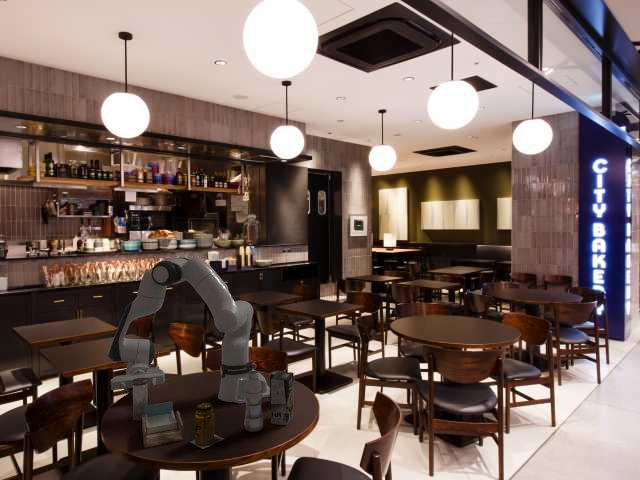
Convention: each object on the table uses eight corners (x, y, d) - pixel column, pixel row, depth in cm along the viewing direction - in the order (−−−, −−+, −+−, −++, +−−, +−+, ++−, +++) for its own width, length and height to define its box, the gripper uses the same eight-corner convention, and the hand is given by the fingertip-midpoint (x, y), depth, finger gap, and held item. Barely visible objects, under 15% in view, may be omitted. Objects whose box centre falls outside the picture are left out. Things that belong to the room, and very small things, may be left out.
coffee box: (287, 425, 154) (287, 380, 154) (270, 424, 155) (270, 379, 155) (294, 414, 163) (294, 372, 163) (277, 413, 164) (277, 371, 164)
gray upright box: (283, 406, 171) (283, 375, 171) (266, 404, 173) (266, 374, 173) (289, 399, 178) (289, 370, 177) (273, 398, 180) (273, 369, 179)
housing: (178, 424, 155) (178, 410, 155) (183, 440, 143) (183, 424, 143) (142, 431, 150) (142, 416, 150) (144, 447, 138) (144, 432, 138)
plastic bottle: (255, 436, 146) (254, 376, 145) (240, 431, 149) (239, 373, 149) (267, 428, 151) (267, 371, 151) (252, 424, 155) (252, 368, 155)
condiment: (189, 442, 142) (189, 405, 142) (211, 433, 148) (211, 398, 148) (202, 449, 137) (202, 411, 137) (224, 439, 144) (224, 403, 143)
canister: (147, 413, 164) (147, 376, 164) (148, 418, 160) (148, 380, 160) (132, 416, 162) (132, 378, 162) (133, 421, 158) (132, 383, 157)
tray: (172, 416, 161) (172, 401, 161) (176, 430, 150) (176, 414, 150) (144, 420, 157) (144, 405, 157) (146, 435, 146) (146, 419, 146)
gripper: (110, 371, 179) (109, 382, 167) (162, 365, 188) (166, 374, 175) (110, 387, 179) (109, 398, 167) (163, 379, 188) (166, 390, 175)
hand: (139, 386), depth 171 cm, fingers open, 8 cm apart
